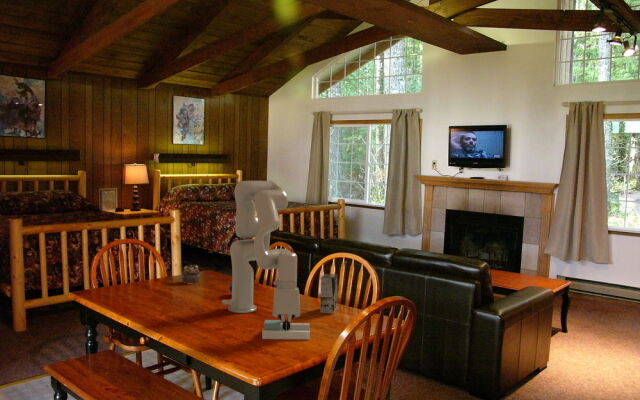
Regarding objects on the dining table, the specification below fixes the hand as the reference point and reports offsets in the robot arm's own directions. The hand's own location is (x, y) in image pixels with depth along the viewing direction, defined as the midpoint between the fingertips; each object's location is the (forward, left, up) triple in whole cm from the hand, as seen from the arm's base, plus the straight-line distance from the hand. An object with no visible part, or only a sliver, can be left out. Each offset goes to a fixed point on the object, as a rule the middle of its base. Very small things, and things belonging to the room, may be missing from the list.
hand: (286, 331), depth 210 cm
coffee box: (+18, +35, -2) cm, 40 cm away
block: (-5, 0, -2) cm, 6 cm away
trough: (0, 0, -2) cm, 2 cm away
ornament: (-26, +60, -2) cm, 66 cm away
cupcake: (-55, +87, -2) cm, 103 cm away
